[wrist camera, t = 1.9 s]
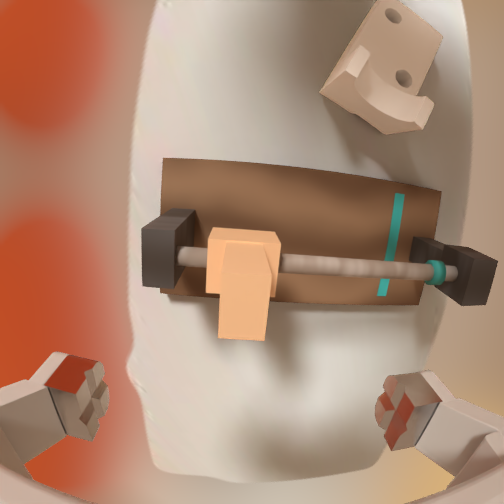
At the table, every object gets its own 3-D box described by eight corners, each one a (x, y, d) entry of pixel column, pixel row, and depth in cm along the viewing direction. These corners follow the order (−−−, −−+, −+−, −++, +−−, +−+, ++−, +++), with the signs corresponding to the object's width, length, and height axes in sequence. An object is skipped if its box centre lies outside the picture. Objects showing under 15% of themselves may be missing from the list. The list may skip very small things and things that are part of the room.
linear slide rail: (167, 158, 26) (121, 154, 15) (433, 189, 27) (508, 206, 17) (163, 286, 29) (128, 349, 18) (411, 299, 30) (468, 350, 20)
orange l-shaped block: (212, 227, 20) (195, 268, 12) (274, 231, 20) (297, 275, 12) (210, 274, 21) (194, 338, 13) (269, 278, 21) (286, 343, 13)
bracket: (380, 135, 26) (423, 129, 19) (318, 93, 25) (345, 70, 17) (425, 45, 23) (466, 25, 16) (372, 5, 22) (403, -27, 15)
